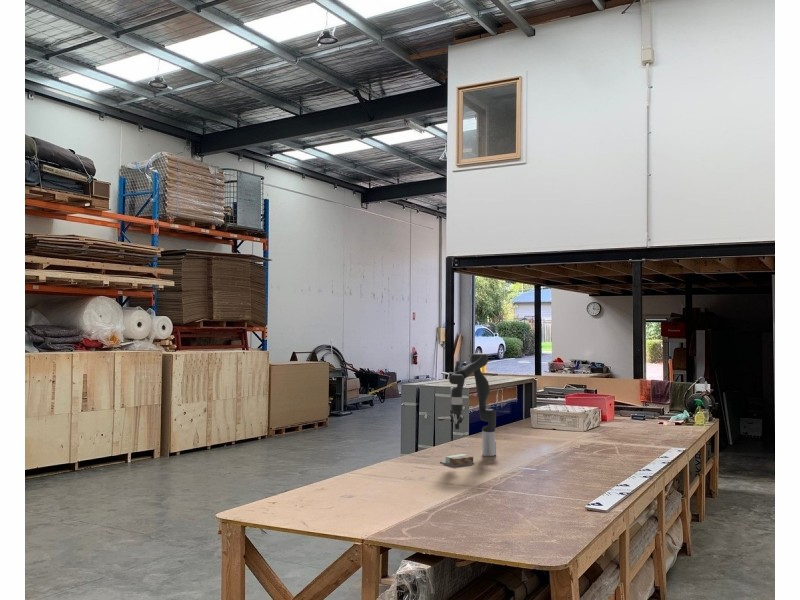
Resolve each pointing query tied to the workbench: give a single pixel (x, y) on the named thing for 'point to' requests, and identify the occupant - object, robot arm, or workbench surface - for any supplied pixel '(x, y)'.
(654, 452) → the workbench surface
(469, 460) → the walnut board
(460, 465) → the base
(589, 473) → the workbench surface
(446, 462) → the plank
